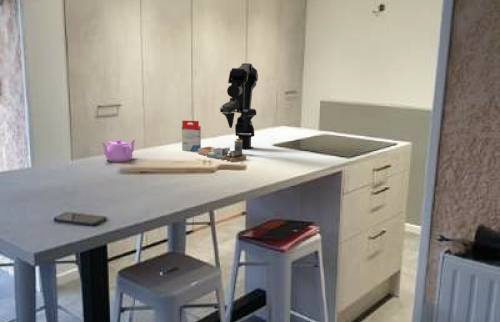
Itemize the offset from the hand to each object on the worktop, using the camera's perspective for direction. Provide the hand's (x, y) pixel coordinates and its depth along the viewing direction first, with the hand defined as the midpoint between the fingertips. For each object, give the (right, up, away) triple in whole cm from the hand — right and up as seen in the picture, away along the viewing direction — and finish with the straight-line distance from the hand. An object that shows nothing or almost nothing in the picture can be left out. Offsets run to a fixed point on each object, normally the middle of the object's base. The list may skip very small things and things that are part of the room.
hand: (237, 129), depth 249 cm
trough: (-1, -14, -11) cm, 18 cm away
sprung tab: (-5, -12, -7) cm, 15 cm away
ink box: (-23, -10, +10) cm, 27 cm away
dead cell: (0, -12, +2) cm, 12 cm away
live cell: (-1, -14, -11) cm, 18 cm away
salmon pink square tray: (-13, -12, 0) cm, 18 cm away
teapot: (-51, -15, -17) cm, 56 cm away
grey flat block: (-7, -13, -6) cm, 16 cm away
